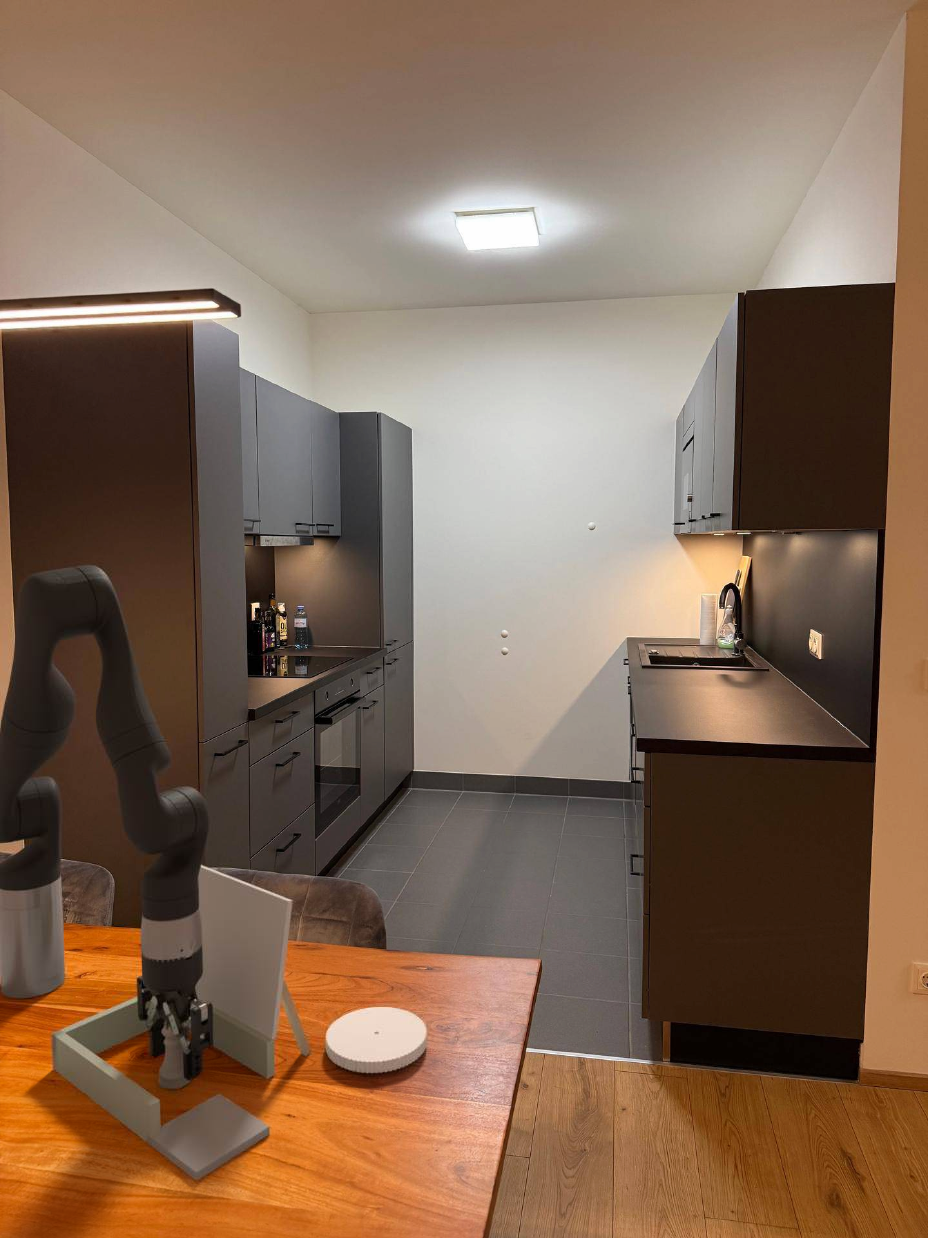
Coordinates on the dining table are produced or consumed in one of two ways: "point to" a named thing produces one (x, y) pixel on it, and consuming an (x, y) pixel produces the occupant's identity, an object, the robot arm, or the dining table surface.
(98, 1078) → the frame
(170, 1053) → the rook chess piece
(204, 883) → the lid propped
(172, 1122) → the slate tile
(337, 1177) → the dining table surface
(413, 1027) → the plastic lid
